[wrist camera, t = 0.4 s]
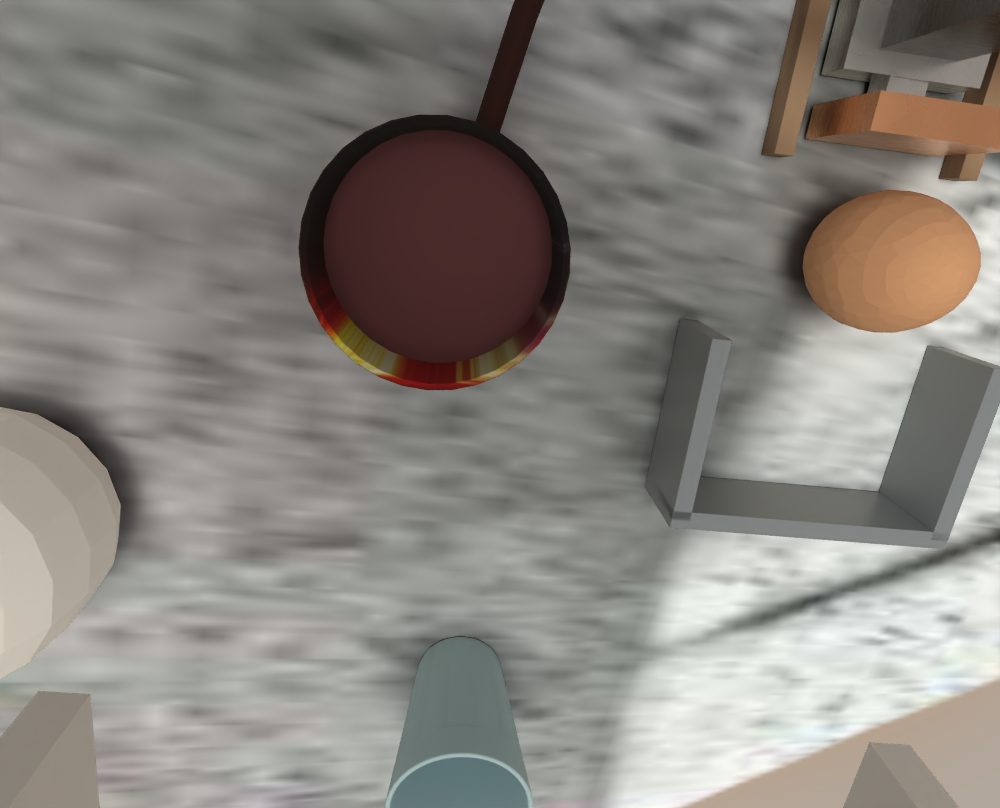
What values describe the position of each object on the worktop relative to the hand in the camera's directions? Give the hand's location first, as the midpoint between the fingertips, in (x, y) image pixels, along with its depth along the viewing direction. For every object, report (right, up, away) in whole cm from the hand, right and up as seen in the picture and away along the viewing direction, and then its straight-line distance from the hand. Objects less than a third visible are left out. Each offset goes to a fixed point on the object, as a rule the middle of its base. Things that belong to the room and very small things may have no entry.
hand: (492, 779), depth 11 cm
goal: (+18, +6, +28) cm, 33 cm away
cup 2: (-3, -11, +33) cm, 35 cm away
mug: (-3, +17, +23) cm, 29 cm away
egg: (+19, +15, +25) cm, 35 cm away
